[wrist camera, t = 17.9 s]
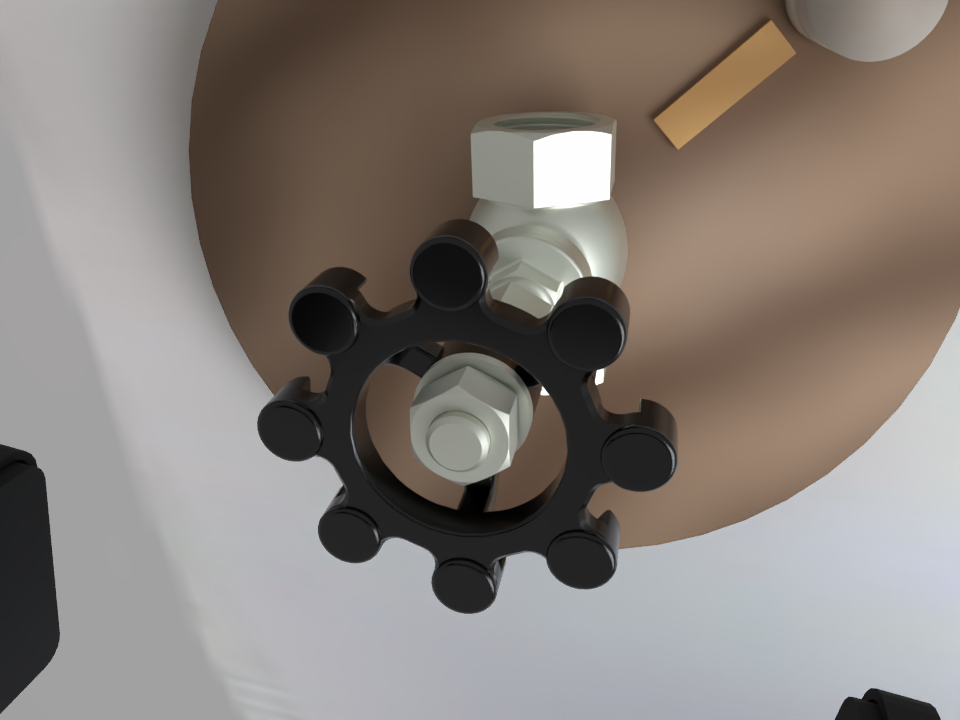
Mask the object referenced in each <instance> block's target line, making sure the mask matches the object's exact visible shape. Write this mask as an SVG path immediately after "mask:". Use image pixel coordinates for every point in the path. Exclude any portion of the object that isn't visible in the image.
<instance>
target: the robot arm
mask: <svg viewBox="0 0 960 720" xmlns="http://www.w3.org/2000/svg"><path fill="white" fill-rule="evenodd" d="M58 621H59V620H58V610H57V600H56V588H55V578H54V567H53V556H52V546H51V535H50V524H49V514H48V502H47V492H46V481H45V476H44V473H43V472H42V470H41V469H39V468H37V464H36V460H35V459H34V457H33V456H32V454H30V453H28V452H26V451H23V450H19V449H15V448H12V447H9V446H5V445H1V444H0V713H1V712H2V711H3V710H4V709H5V708H6V707H7V706H8V705H9V704H10V703H11V702H12V701H13V700H14V699H15V698H16V697H17V696H18V695H19V694H20V693H21V692H22V691H23V690H24V689H25V688H26V687H27V685H29V684H30V683H31V682H32V681H33V680H34V678H35V677H36V676H37V675H38V674H39V673H40V672H41V671H42V670H43V669H44V668H45V667H46V666H47V665H48V663H49V662H50V661H51V659H52V657H53V656H54V654H55V652H56V649H57V647H58V643H59V636H60V632H59V622H58ZM835 720H941V719H940V717H939V715H938V713H937V711H936V709H935V708H934V707H933V706H932V705H931V704H929V703H926V702H922V701H919V700H915V699H911V698H908V697H904V696H901V695H897V694H893V693H890V692H886V691H883V690H879V689H874V688H871V689H869V690H868V691H867V692H866V693H865V694H864V696H863V698H862V699H857V698H854V697H848V698H847V699H845V701H844V702H843V704H842V706H841V708H840V710H839V712H838V714H837V716H836V718H835Z"/></svg>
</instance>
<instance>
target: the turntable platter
mask: <svg viewBox="0 0 960 720" xmlns="http://www.w3.org/2000/svg"><path fill="white" fill-rule="evenodd" d="M540 111H571V112H586V113H595V114H601V115H606V116H609V117H612V118H613V119H615V120H616V121H617V126H616V154H615V182H614V185H613V189H612V192H611V196H612V198H613V199H614V201H615V203H616V204H617V207H618V209H619V211H620V213H621V216H622V219H623V222H624V225H625V229H626V235H627V244H628V256H627V263H626V271H625V274H624V277H623V280H622V284H621V286H620V289H621V290H622V291H623V292H624V294H625V295H626V297H627V299H628V302H629V305H630V321H629V329H628V338H627V343H626V346H625V349H624V351H623V353H622V354H621V356H620V357H619V358H618V359H617V360H616V361H615V362H614V363H612V364H611V365H610V366H608V367H606V373H605V378H604V381H603V382H602V383H600V384H598V385H596V386H597V388H598V391H599V393H600V396H601V400H602V404H603V407H604V408H605V409H606V410H607V411H609V412H612V413H615V414H627V413H632V412H638V408H639V401H640V400H641V399H648V400H652V401H655V402H657V403H659V404H661V405H662V406H664V407H666V408H667V410H668V411H669V412H670V413H671V414H672V415H673V417H674V418H675V421H676V423H677V428H678V464H677V469H676V471H675V473H674V475H673V477H672V478H671V479H670V480H669V482H668V483H666V484H665V485H663V486H662V487H661V488H658V489H656V490H653V491H648V492H632V491H628V490H625V489H623V488H621V487H619V486H617V485H616V484H614V483H606V484H603V485H601V486H600V487H598V488H597V489H596V491H595V492H594V494H593V496H592V498H591V499H590V501H589V503H588V505H587V508H588V510H589V512H590V513H591V514H592V515H593V516H594V517H596V518H597V519H598V518H599V517H600V516H601V515H602V514H603V513H604V512H605V511H606V510H611V511H612V512H613V513H614V515H615V516H616V518H617V520H618V522H619V525H620V539H619V549H624V548H633V547H642V546H651V545H659V544H663V543H668V542H672V541H677V540H681V539H686V538H690V537H695V536H699V535H703V534H706V533H709V532H712V531H715V530H717V529H720V528H723V527H726V526H729V525H732V524H735V523H738V522H740V521H743V520H746V519H748V518H750V517H752V516H754V515H756V514H758V513H760V512H763V511H765V510H767V509H769V508H771V507H773V506H775V505H777V504H779V503H781V502H783V501H785V500H787V499H789V498H791V497H792V496H794V495H795V494H797V493H798V492H800V491H802V490H803V489H805V488H806V487H808V486H809V485H811V484H813V483H814V482H816V481H817V480H819V479H820V478H822V477H824V476H825V475H827V474H828V473H829V472H831V471H832V470H833V469H834V468H835V467H837V466H838V465H839V464H840V463H842V462H843V461H844V460H845V459H846V458H848V457H849V456H850V455H851V454H852V453H854V452H855V451H856V450H857V449H859V448H860V447H861V446H862V445H863V444H865V443H866V442H867V441H868V440H869V438H870V437H871V436H872V435H873V434H874V433H875V432H876V431H877V430H878V429H879V428H880V427H881V426H882V425H883V424H884V423H885V422H886V421H887V420H888V418H889V417H890V416H891V415H892V414H893V413H894V412H895V411H896V410H897V409H898V408H899V407H900V406H901V404H902V403H903V401H904V400H905V399H906V397H907V396H908V395H909V393H910V392H911V391H912V389H913V388H914V386H915V385H916V384H917V382H918V381H919V380H920V378H921V377H922V376H923V374H924V373H925V371H926V370H927V369H928V367H929V366H930V364H931V363H932V361H933V359H934V357H935V355H936V353H937V352H938V350H939V348H940V346H941V344H942V342H943V341H944V339H945V337H946V335H947V333H948V331H949V330H950V328H951V326H952V324H953V322H954V320H955V319H956V316H957V313H958V311H959V308H960V0H218V2H217V5H216V8H215V11H214V14H213V17H212V20H211V23H210V26H209V29H208V32H207V35H206V39H205V42H204V45H203V48H202V51H201V55H200V61H199V66H198V71H197V77H196V82H195V87H194V93H193V98H192V107H191V124H190V141H189V159H190V176H191V192H192V201H193V207H194V212H195V218H196V223H197V229H198V234H199V240H200V245H201V248H202V251H203V254H204V258H205V261H206V264H207V268H208V271H209V274H210V277H211V281H212V284H213V287H214V289H215V292H216V294H217V296H218V299H219V301H220V303H221V306H222V308H223V310H224V313H225V315H226V317H227V319H228V322H229V324H230V326H231V329H232V330H233V332H234V334H235V336H236V337H237V339H238V341H239V343H240V344H241V346H242V348H243V350H244V351H245V353H246V355H247V357H248V358H249V360H250V362H251V364H252V365H253V367H254V368H255V370H256V371H257V372H258V374H259V375H260V376H261V378H262V379H263V381H264V382H265V383H266V385H267V386H268V387H269V389H270V390H271V392H272V393H273V394H274V396H275V395H276V394H277V393H278V392H279V391H280V390H281V389H282V388H283V386H284V385H285V384H286V383H287V382H289V381H290V380H292V379H294V378H297V377H301V376H309V378H310V383H311V392H315V393H321V392H324V391H325V390H326V386H327V383H328V380H329V377H330V374H331V367H330V363H329V361H328V359H327V358H326V356H325V355H320V354H317V353H314V352H312V351H310V350H309V349H307V348H305V347H304V346H303V345H302V344H301V343H300V342H299V341H298V340H297V339H296V337H295V336H294V334H293V332H292V330H291V328H290V324H289V320H288V311H289V306H290V303H291V301H292V299H293V297H294V296H295V295H296V294H297V293H298V292H299V291H300V290H301V289H303V288H304V287H305V286H306V285H307V284H309V283H310V282H311V281H312V280H313V279H314V278H316V277H317V276H318V275H319V274H320V273H321V272H323V271H325V270H327V269H329V268H333V267H346V268H350V269H353V270H355V271H357V272H359V273H361V274H362V275H363V276H364V277H366V278H367V281H366V283H365V284H364V285H363V286H362V287H361V288H360V289H359V291H360V292H361V293H362V295H363V296H364V298H365V299H366V301H367V302H368V304H369V305H370V306H372V307H373V308H375V309H376V310H379V311H383V312H386V311H388V310H390V309H392V308H394V307H395V306H398V305H400V304H403V303H405V302H408V301H410V300H414V299H417V293H416V292H415V290H414V288H413V286H412V283H411V279H410V274H409V271H410V262H411V258H412V256H413V254H414V252H415V250H416V249H417V248H418V246H419V245H420V244H421V243H422V242H423V241H424V240H425V239H426V238H427V237H428V236H429V235H430V234H431V233H432V231H433V230H434V229H435V228H437V227H438V226H439V225H440V224H442V223H444V222H446V221H449V220H453V219H466V220H470V218H471V215H472V212H473V210H474V208H475V206H476V204H477V202H478V201H479V199H480V198H475V197H473V187H472V159H471V132H472V130H473V128H474V127H475V125H476V124H477V123H478V122H479V121H480V120H482V119H485V118H488V117H493V116H498V115H504V114H512V113H522V112H540ZM437 343H438V344H440V345H443V344H444V343H445V342H437ZM420 380H421V378H420V377H418V376H416V375H415V374H413V373H411V372H409V371H408V370H406V369H404V368H401V367H398V366H395V365H382V366H381V367H379V369H378V370H377V372H376V373H375V374H374V376H373V377H372V378H371V381H370V385H369V390H368V394H367V398H366V419H367V425H368V429H369V433H370V436H371V439H372V442H373V444H374V446H375V448H376V449H377V451H378V453H379V455H380V457H381V458H382V460H383V462H384V463H385V464H386V465H387V467H388V468H389V469H390V470H391V471H392V472H393V474H394V475H395V476H396V477H397V478H398V479H399V480H400V481H401V482H402V483H403V484H405V485H406V486H407V487H408V488H410V489H411V490H413V491H414V492H415V493H417V494H419V495H420V496H422V497H424V498H426V499H428V500H430V501H432V502H434V503H436V504H439V505H443V506H446V507H450V508H453V509H457V507H458V505H459V502H460V500H461V497H462V494H463V491H464V487H465V486H461V485H459V484H456V483H454V482H451V481H449V480H447V479H445V478H443V477H441V476H439V475H438V474H436V473H434V472H433V471H431V470H429V469H428V468H427V467H425V466H424V465H422V464H421V463H420V462H418V461H417V460H416V459H415V458H414V456H413V451H412V444H411V433H410V407H411V405H412V404H413V402H414V395H415V391H416V388H417V386H418V384H419V382H420ZM566 457H567V442H566V433H565V428H564V425H563V422H562V419H561V416H560V413H559V411H558V409H557V408H556V406H555V404H554V402H553V400H552V398H551V397H550V395H540V398H539V401H538V404H537V407H536V411H535V414H534V417H533V420H532V423H531V427H530V430H529V433H528V435H527V438H526V439H525V441H524V443H523V444H522V446H521V447H520V448H519V449H518V450H517V451H516V452H515V454H514V457H513V460H512V463H511V466H510V467H508V468H506V469H504V470H502V471H500V472H499V482H498V490H497V498H496V503H495V508H494V511H500V510H506V509H510V508H513V507H516V506H519V505H521V504H524V503H526V502H527V501H529V500H531V499H533V498H535V497H536V496H537V495H539V494H540V493H542V492H543V491H544V490H545V489H546V488H547V487H548V486H549V484H550V483H551V482H552V481H553V480H554V479H555V478H556V477H557V475H558V474H559V472H560V470H561V468H562V466H563V464H564V462H565V461H566Z"/></svg>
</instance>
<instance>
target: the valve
mask: <svg viewBox="0 0 960 720" xmlns="http://www.w3.org/2000/svg"><path fill="white" fill-rule="evenodd" d="M616 126H617V121H616V120H615V119H613V118H612V117H609V116H606V115H601V114H595V113H586V112H571V111H540V112H522V113H512V114H504V115H498V116H493V117H488V118H485V119H482V120H480V121H479V122H478V123H477V124H476V125H475V127H474V128H473V130H472V132H471V159H472V187H473V197H475V198H480V199H479V201H478V202H477V204H476V206H475V208H474V210H473V212H472V215H471V218H470V220H466V219H453V220H449V221H446V222H444V223H442V224H440V225H439V226H438V227H437V228H435V229H434V230H433V231H432V233H431V234H430V235H429V236H428V237H427V238H426V239H425V240H424V241H423V242H422V243H421V244H420V245H419V246H418V248H417V249H416V250H415V252H414V254H413V256H412V258H411V262H410V271H409V274H410V279H411V283H412V286H413V288H414V290H415V292H416V293H417V299H414V300H410V301H408V302H405V303H403V304H400V305H398V306H395V307H394V308H392V309H390V310H388V311H386V312H383V311H379V310H376V309H375V308H373V307H372V306H370V305H369V304H368V302H367V301H366V299H365V298H364V296H363V295H362V293H361V292H360V291H359V289H360V288H361V287H362V286H363V285H364V284H365V283H366V281H367V278H366V277H364V276H363V275H362V274H361V273H359V272H357V271H355V270H353V269H350V268H346V267H333V268H329V269H327V270H325V271H323V272H321V273H320V274H319V275H318V276H317V277H316V278H314V279H313V280H312V281H311V282H310V283H309V284H307V285H306V286H305V287H304V288H303V289H301V290H300V291H299V292H298V293H297V294H296V295H295V296H294V297H293V299H292V301H291V303H290V306H289V311H288V320H289V324H290V328H291V330H292V332H293V334H294V336H295V337H296V339H297V340H298V341H299V342H300V343H301V344H302V345H303V346H304V347H305V348H307V349H309V350H310V351H312V352H314V353H317V354H320V355H325V356H326V358H327V359H328V361H329V363H330V367H331V374H330V377H329V380H328V383H327V386H326V390H325V391H324V392H321V393H315V392H311V383H310V378H309V376H301V377H297V378H294V379H292V380H290V381H289V382H287V383H286V384H285V385H284V386H283V388H282V389H281V390H280V391H279V392H278V393H277V394H276V395H275V396H274V397H273V398H272V399H271V400H270V401H269V402H268V403H267V404H266V405H265V407H264V408H263V409H262V410H261V412H260V414H259V417H258V422H257V426H258V433H259V436H260V438H261V440H262V442H263V443H264V445H265V446H266V447H267V448H268V449H269V450H270V451H271V452H272V453H273V454H275V455H276V456H278V457H280V458H282V459H285V460H288V461H304V460H308V459H310V458H312V457H314V456H317V457H321V458H323V459H325V460H327V461H328V462H329V463H331V465H332V466H333V467H334V469H335V471H336V472H337V474H338V476H339V478H340V480H341V481H342V483H343V486H342V487H341V488H340V489H339V491H338V493H337V494H336V496H335V497H334V499H333V500H332V502H331V503H330V505H329V506H328V508H327V509H326V511H325V513H324V514H323V516H322V517H321V519H320V521H319V525H318V534H319V538H320V541H321V543H322V545H323V546H324V548H325V549H326V550H327V551H328V552H329V553H330V554H331V555H333V556H334V557H336V558H338V559H340V560H342V561H345V562H349V563H362V562H366V561H368V560H370V559H372V558H373V557H374V556H376V555H377V553H378V552H379V550H380V548H381V546H382V545H383V543H384V542H385V541H386V540H388V539H391V538H401V539H404V540H407V541H409V542H411V543H413V544H416V545H418V546H420V547H422V548H424V549H426V550H427V551H429V552H430V553H431V554H432V556H433V557H434V559H435V563H436V565H435V570H434V573H433V576H432V588H433V591H434V593H435V595H436V597H437V598H438V599H439V601H440V602H441V603H442V604H444V605H445V606H446V607H448V608H449V609H451V610H453V611H456V612H459V613H464V614H473V613H479V612H481V611H484V610H486V609H487V608H488V607H490V606H491V605H492V603H493V602H494V601H495V598H496V595H497V592H498V588H499V585H500V581H501V578H502V574H503V571H504V567H505V564H506V557H507V556H511V555H515V554H519V553H524V552H533V553H537V554H539V555H541V556H543V557H544V558H545V559H546V561H547V565H548V568H549V569H550V571H551V573H552V574H553V575H554V576H555V578H557V579H558V580H559V581H560V582H562V583H563V584H565V585H567V586H569V587H573V588H577V589H593V588H597V587H600V586H602V585H604V584H605V583H607V582H608V581H609V580H610V579H611V578H612V577H613V575H614V573H615V571H616V567H617V559H618V549H619V539H620V525H619V522H618V520H617V518H616V516H615V515H614V513H613V512H612V511H611V510H606V511H605V512H604V513H603V514H602V515H601V516H600V517H599V518H598V519H597V518H596V517H594V516H593V515H592V514H591V513H590V512H589V510H588V508H587V505H588V503H589V501H590V499H591V498H592V496H593V494H594V492H595V491H596V489H597V488H598V487H600V486H601V485H603V484H606V483H614V484H616V485H617V486H619V487H621V488H623V489H625V490H628V491H632V492H648V491H653V490H656V489H658V488H661V487H662V486H663V485H665V484H666V483H668V482H669V480H670V479H671V478H672V477H673V475H674V473H675V471H676V469H677V464H678V428H677V423H676V421H675V418H674V417H673V415H672V414H671V413H670V412H669V411H668V410H667V408H666V407H664V406H662V405H661V404H659V403H657V402H655V401H652V400H648V399H641V400H640V401H639V408H638V412H632V413H627V414H615V413H612V412H609V411H607V410H606V409H605V408H604V407H603V404H602V400H601V396H600V393H599V391H598V388H597V386H596V385H598V384H600V383H602V382H603V381H604V378H605V373H606V367H608V366H610V365H611V364H612V363H614V362H615V361H616V360H617V359H618V358H619V357H620V356H621V354H622V353H623V351H624V349H625V346H626V343H627V338H628V329H629V321H630V305H629V302H628V299H627V297H626V295H625V294H624V292H623V291H622V290H621V289H620V286H621V284H622V280H623V277H624V274H625V271H626V263H627V256H628V244H627V235H626V229H625V225H624V222H623V219H622V216H621V213H620V211H619V209H618V207H617V204H616V203H615V201H614V199H613V198H612V196H611V192H612V189H613V185H614V182H615V154H616ZM437 342H445V343H444V344H443V345H440V344H438V343H437ZM382 365H395V366H398V367H401V368H404V369H406V370H408V371H409V372H411V373H413V374H415V375H416V376H418V377H420V378H421V380H420V382H419V384H418V386H417V388H416V391H415V395H414V402H413V404H412V405H411V407H410V433H411V444H412V451H413V456H414V458H415V459H416V460H417V461H418V462H420V463H421V464H422V465H424V466H425V467H427V468H428V469H429V470H431V471H433V472H434V473H436V474H438V475H439V476H441V477H443V478H445V479H447V480H449V481H451V482H454V483H456V484H459V485H461V486H465V487H464V491H463V494H462V497H461V500H460V502H459V505H458V507H457V509H453V508H450V507H446V506H443V505H439V504H436V503H434V502H432V501H430V500H428V499H426V498H424V497H422V496H420V495H419V494H417V493H415V492H414V491H413V490H411V489H410V488H408V487H407V486H406V485H405V484H403V483H402V482H401V481H400V480H399V479H398V478H397V477H396V476H395V475H394V474H393V472H392V471H391V470H390V469H389V468H388V467H387V465H386V464H385V463H384V462H383V460H382V458H381V457H380V455H379V453H378V451H377V449H376V448H375V446H374V444H373V442H372V439H371V436H370V433H369V429H368V425H367V419H366V398H367V394H368V390H369V385H370V381H371V378H372V377H373V376H374V374H375V373H376V372H377V370H378V369H379V367H381V366H382ZM540 395H550V397H551V398H552V400H553V402H554V404H555V406H556V408H557V409H558V411H559V413H560V416H561V419H562V422H563V425H564V428H565V433H566V442H567V457H566V461H565V462H564V464H563V466H562V468H561V470H560V472H559V474H558V475H557V477H556V478H555V479H554V480H553V481H552V482H551V483H550V484H549V486H548V487H547V488H546V489H545V490H544V491H543V492H542V493H540V494H539V495H537V496H536V497H535V498H533V499H531V500H529V501H527V502H526V503H524V504H521V505H519V506H516V507H513V508H510V509H506V510H500V511H494V508H495V503H496V498H497V490H498V482H499V472H500V471H502V470H504V469H506V468H508V467H510V466H511V463H512V460H513V457H514V454H515V452H516V451H517V450H518V449H519V448H520V447H521V446H522V444H523V443H524V441H525V439H526V438H527V435H528V433H529V430H530V427H531V423H532V420H533V417H534V414H535V411H536V407H537V404H538V401H539V398H540Z"/></svg>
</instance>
